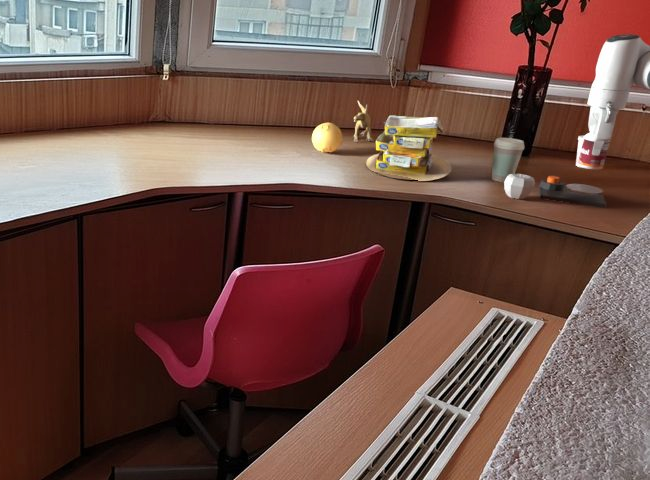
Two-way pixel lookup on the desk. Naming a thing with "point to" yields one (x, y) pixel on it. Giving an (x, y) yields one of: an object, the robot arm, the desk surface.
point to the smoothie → (579, 148)
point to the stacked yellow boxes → (409, 149)
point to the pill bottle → (586, 155)
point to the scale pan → (584, 189)
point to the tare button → (553, 179)
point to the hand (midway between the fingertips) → (593, 151)
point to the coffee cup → (506, 157)
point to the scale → (568, 195)
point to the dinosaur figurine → (362, 124)
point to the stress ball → (327, 137)
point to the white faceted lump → (518, 185)
